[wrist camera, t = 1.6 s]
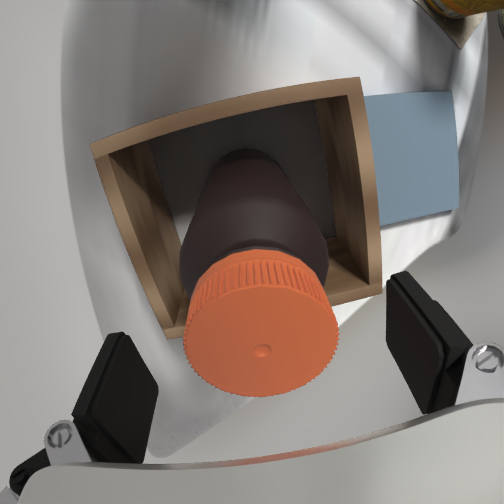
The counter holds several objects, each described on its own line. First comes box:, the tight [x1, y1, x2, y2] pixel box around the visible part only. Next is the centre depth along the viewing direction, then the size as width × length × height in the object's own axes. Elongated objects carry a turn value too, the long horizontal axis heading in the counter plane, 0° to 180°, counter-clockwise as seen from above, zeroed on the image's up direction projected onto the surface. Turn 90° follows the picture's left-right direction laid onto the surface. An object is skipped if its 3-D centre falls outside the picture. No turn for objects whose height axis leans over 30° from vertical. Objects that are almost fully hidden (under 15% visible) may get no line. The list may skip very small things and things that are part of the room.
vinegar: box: [179, 149, 339, 397], centre depth 19 cm, size 7×7×20 cm
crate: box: [90, 77, 382, 339], centre depth 24 cm, size 15×16×9 cm
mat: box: [364, 91, 459, 226], centre depth 26 cm, size 12×10×1 cm
